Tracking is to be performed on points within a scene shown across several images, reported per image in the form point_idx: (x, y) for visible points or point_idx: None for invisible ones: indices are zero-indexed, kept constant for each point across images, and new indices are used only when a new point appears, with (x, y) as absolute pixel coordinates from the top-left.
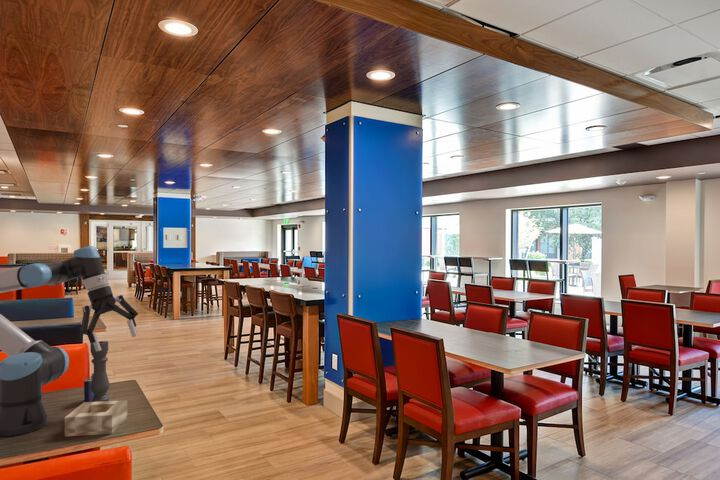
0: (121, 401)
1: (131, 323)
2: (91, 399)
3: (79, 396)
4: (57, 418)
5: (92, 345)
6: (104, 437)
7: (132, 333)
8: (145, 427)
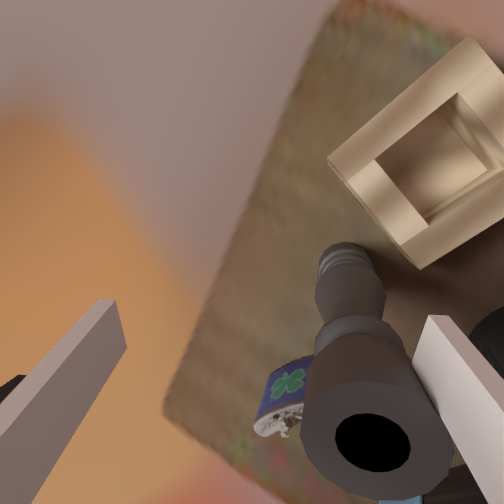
0: (346, 161)
1: (17, 414)
2: (311, 361)
3: (295, 430)
4: None
5: (447, 437)
6: None
7: (106, 352)
8: (352, 29)
